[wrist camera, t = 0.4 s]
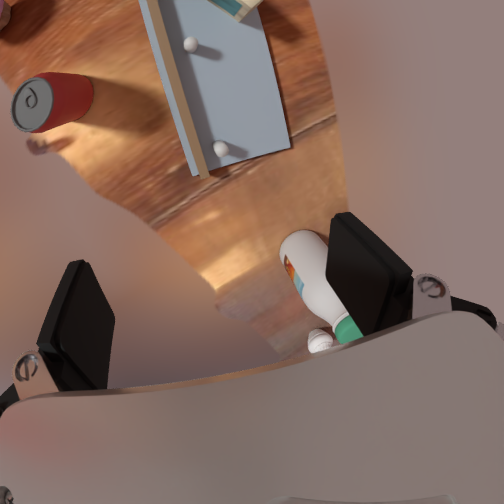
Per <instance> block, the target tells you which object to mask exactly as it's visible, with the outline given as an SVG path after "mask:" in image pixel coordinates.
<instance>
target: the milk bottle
mask: <svg viewBox="0 0 504 504" xmlns="http://www.w3.org/2000/svg"><path fill="white" fill-rule="evenodd" d="M327 253H328V247H327V246H326V244H325V243H324V242H323V241H322V240H321V238H320V237H319V236H318V235H317V234H316V233H314V232H312V231H309V230H299V231H296V232H294V233H292V234H290V235H289V236H288V237H287V238H286V239H285V240H284V241H283V243H282V245H281V248H280V259H281V261H282V263H283V265H284V267H285V269H286V271H287V272H288V274H289V276H290V278H291V280H292V281H293V283H294V285H295V287H296V289H297V290H298V292H299V294H300V296H301V297H302V299H303V301H304V302H305V304H306V305H307V307H308V308H309V309H310V310H311V311H312V312H313V313H314V314H316V315H317V316H319V317H321V318H322V319H324V320H326V321H327V322H328V323H329V324H331V325H332V327H333V328H332V330H333V332H334V333H335V336H336V338H337V339H338V341H339V342H340V343H341V344H344V343H347V342H350V341H353V340H356V339H359V338H361V337H363V335H362V333H361V332H360V330H359V329H358V327H357V325H356V324H355V322H354V321H353V319H352V318H351V316H350V315H349V313H348V312H347V310H346V309H345V307H344V306H343V304H342V303H341V301H340V300H339V298H338V297H337V295H336V294H335V292H334V291H333V289H332V288H331V286H330V285H329V283H328V282H327V280H326V276H325V270H326V262H327Z"/></svg>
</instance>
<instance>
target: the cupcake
mask: <svg viewBox="0 0 504 504" xmlns="http://www.w3.org/2000/svg"><path fill="white" fill-rule="evenodd" d="M10 11H11V7H10V6H9V5H8V4H7V3H6V2H5V1H4V0H0V31H1V29H2V28H3V27H4V26H6V25H7V24H8V22H9V20H10V17H11V15H10Z"/></svg>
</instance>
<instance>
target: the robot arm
mask: <svg viewBox="0 0 504 504" xmlns="http://www.w3.org/2000/svg"><path fill="white" fill-rule="evenodd" d="M412 272H413V270H412V269H411V268H410V267H409V266H408V265H407V264H406V263H405V262H404V261H403V260H402V259H401V258H400V257H399V256H398V255H397V254H396V253H395V252H394V251H393V250H391V249H390V248H389V247H388V246H387V245H386V244H385V243H384V242H383V241H382V240H381V239H380V238H379V237H378V236H377V235H376V234H374V233H373V232H372V231H371V230H370V229H369V228H368V227H367V226H365V225H364V224H363V223H362V222H361V221H360V220H359V219H358V218H357V217H355V216H354V215H353V214H352V213H351V212H345V213H338V214H336V215H335V216H334V218H332V219H331V224H330V234H329V244H328V253H327V262H326V270H325V276H326V280H327V282H328V283H329V285H330V286H331V288H332V289H333V291H334V292H335V294H336V295H337V297H338V298H339V300H340V301H341V303H342V304H343V306H344V307H345V309H346V310H347V312H348V313H349V315H350V316H351V318H352V319H353V321H354V322H355V324H356V325H357V327H358V329H359V330H360V332H361V333H362V335H363V336H364V337H361V338H359V339H356V340H353V341H350V342H347V343H344V344H341V345H338V346H335V347H331V348H328V349H325V350H322V351H318V352H315V353H311V354H308V355H304V356H301V357H297V358H293V359H290V360H286V361H282V362H278V363H274V364H270V365H266V366H262V367H257V368H253V369H248V370H244V371H239V372H234V373H229V374H224V375H219V376H213V377H207V378H201V379H195V380H189V381H182V382H175V383H168V384H160V385H151V386H142V387H132V388H118V389H107V382H108V372H109V362H110V354H111V346H112V338H113V331H114V325H115V316H114V313H113V311H112V309H111V307H110V305H109V303H108V301H107V299H106V297H105V295H104V293H103V291H102V289H101V287H100V285H99V283H98V281H97V279H96V277H95V274H94V272H93V270H92V268H91V265H90V264H89V263H88V262H85V261H84V260H77V261H73V262H70V263H69V264H68V266H67V269H66V270H65V273H64V275H63V277H62V279H61V281H60V284H59V286H58V288H57V290H56V292H55V295H54V297H53V300H52V302H51V305H50V307H49V310H48V312H47V315H46V317H45V320H44V323H43V325H42V328H41V331H40V334H39V337H38V340H37V343H36V344H37V345H38V346H39V350H38V352H36V351H34V350H29V351H26V352H24V353H23V354H21V355H20V356H19V357H18V358H17V360H16V361H15V363H14V365H13V368H12V378H13V381H14V383H13V384H12V385H11V386H10V387H9V388H8V389H7V390H6V391H5V392H4V393H3V394H2V395H1V396H0V504H504V324H502V323H500V322H499V323H498V324H497V322H496V318H495V316H494V315H493V313H492V312H491V311H490V310H489V309H488V308H487V307H484V306H482V305H479V304H475V303H472V302H469V301H466V300H463V299H459V298H456V297H453V296H450V291H449V288H448V286H447V284H446V283H445V282H444V281H443V280H442V279H440V278H439V277H437V276H434V275H431V274H420V275H418V276H416V278H415V279H414V278H413V277H412V276H411V275H412Z"/></svg>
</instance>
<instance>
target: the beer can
mask: <svg viewBox="0 0 504 504" xmlns="http://www.w3.org/2000/svg"><path fill="white" fill-rule="evenodd" d="M93 94H94V93H93V86H92V84H91V82H90V81H89V80H88V79H87V78H86V77H85V76H82V75H79V74H69V73H55V72H46V73H40V74H38V75H36V76H34V77H32V78H30V79H28V80H26V81H24V82H23V83H22V84H21V85H20V86H19V87H18V89H17V91H16V92H15V94H14V96H13V99H12V102H11V117H12V120H13V123H14V125H15V126H16V127H17V128H18V129H19V130H21V131H24V132H30V133H42V132H45V131H47V130H50V129H52V128H55V127H58V126H60V125H63V124H66V123H69V122H71V121H74V120H77V119H79V118H80V117H82V116H83V115H84V114H85V113H86V112H87V111H88V109H89V108H90V106H91V103H92V101H93Z"/></svg>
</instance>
